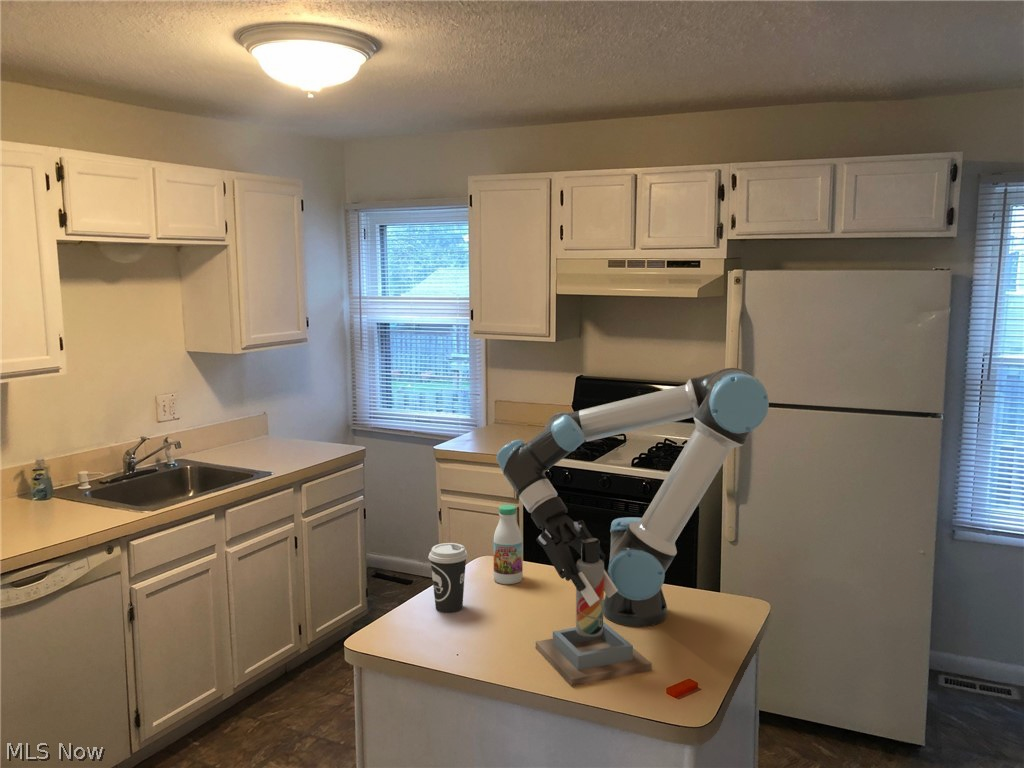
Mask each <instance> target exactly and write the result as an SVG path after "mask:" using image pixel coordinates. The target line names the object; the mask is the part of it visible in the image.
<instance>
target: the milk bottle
mask: <svg viewBox="0 0 1024 768" xmlns="http://www.w3.org/2000/svg"><path fill="white" fill-rule="evenodd" d="M498 516H499V521H498V523H497V526H496V528H495V531H494V534H493V535H494V536H493V580H494V581H495V582H496V583H498V584H501V585H514V584H519V583H521V582H522V580H523V578H524V577H523V573H524V571H523V570H524V567H523V563H524V561H523V560H524V558H523V553H524V552H523V534H522V531H521V529H520V526H519V524H518V521H517V517H516V516H517V506H516V505H513V504H505V505H504V504H502V505H500V506H499V507H498Z"/></svg>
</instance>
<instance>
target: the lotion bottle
mask: <svg viewBox="0 0 1024 768" xmlns="http://www.w3.org/2000/svg"><path fill="white" fill-rule="evenodd" d="M600 541H601V540H599V539H598V538H596V537H593V538H587V539H584V540H582V541H581V555H580V557H581V558H579V559H578V560H577V561H576V567H577V569H578V573H580V572H582V573H583V574H584V575H585V577H586V578H587V580H588V582H589V583H590V585H591V586H592V588H593V589H594V591H595V593H596V594H597V596H598V597H599V600H598V601H597V602H596V603H594V604H593V605H592V606H589V605H588V603H587V601H586V600H585V598H584V597H583V595H582V594H581V592H579V591H578V590H577V588H576V587H575V627H576V632H577V633H578V634H579V635H582V636H586V637H596V636H599V635H601V634H602V632H603V622H604V614H603V605H604V599H605V595H604V594H605V592H604V567H605V561H604V562H603V561H602V560H600V549H601V545H600V544H601V542H600Z"/></svg>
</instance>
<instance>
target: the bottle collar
mask: <svg viewBox="0 0 1024 768" xmlns="http://www.w3.org/2000/svg"><path fill="white" fill-rule="evenodd" d="M552 639H553V646H554V647H555V648H556V649H557V650H558V651H559V652H560V653H561V654H562V655H563V656H564V657H565V658H566V659H567V660H568V661H569V662H570V663H571V664H572V665H573V666H574V667H575V668H576V669H577V670H578V671H579V670H584V669H589V668H594V667H599V666H604V665H609V664H614V663H619V662H624V661H629V660H633V648H634V645H633V644H631V642H629V641H628V640H627V639H625V638H624V637H623V636H621V635H620V634H619V633H618V632H617V631H616V630H614V629H613V628H612V627H611V626H610V625H609V624H607V623H606V622H604V621H603V632H602V634H601V635H599V636H596V637H586V636H582V635H579V634H578V633H577V632H576V626H575V627H570V628H565V629H558V630H552ZM597 639H603V640H604V641H606V642H607V643H608V644H609V645H610V646H611V647H609V648H603V649H598V650H593V651H587V652H582V653H581V652H580V651H579V650H578V649H577V648H576V647H575V646H573V645H572V644H575V643H580V642H586V641H591V640H597Z"/></svg>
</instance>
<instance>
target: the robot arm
mask: <svg viewBox="0 0 1024 768" xmlns="http://www.w3.org/2000/svg"><path fill="white" fill-rule="evenodd" d="M767 392H768V391H767V390H766V389H765V386H764V385H763V383H762V382H761V381H760V380H759V379H758V378H757V377H755V376H753V375H752V374H751V373H749V372H747V371H746V370H743V369H741V368H738V367H726V368H722V369H719V370H716V371H713V372H710V373H708V374H704V375H701V376H698V377H693V378H689V379H688V380H687V382H686V383H685V384H683V385H679V386H675V387H670V388H668V389H664V390H663V389H662V390H660V391H655V392H650V393H647V394H642V395H637V396H634V397H630V398H625V399H622V400H618V401H617V400H616V401H613V402H609V403H604V404H601V405H596V406H592V407H588V408H584V409H580V410H577V411H572V412H568V413H567V412H559V413H556V414H554V415H552V416H551V417H550V418H549V419H548V421H547V422H546V424H545V427H544V428H543V430H541V431H540V432H539V433H538V434H537V435H535V436H534V437H533V438H531V440H529V441H528V442H524V441H523V440H521V439H515V440H511V441H510V442H509V443H507V444H505V445H504V446H503V447H501V448H500V449H499V450H498V452H497V454H496V458H495V459H496V462H497V463H498V465H499V467H500V469H501V471H502V474H503V476H504V477H505V478H506V479H507V481H508V482H509V484H510V486H511V488H513V490H514V492H515V493H516V495H517V496H518V498H519V499H520V501H521V503H522V504H523V506H524V507H525V509H526V511H527V512H528V513H530V518H531V519H532V521H533V523H534V524H535V526H536V527H537V529H539V530H542V532H541V534H540V535H539V536H538V537H537V538H536V542H537V544H539V545H540V546H541V547H542V549H543V550H544V552H545V554H546V555H547V557H548V559H549V560H550V562H551V564H552V565H553V567H554V569H555V571H556V573H557V574H558V576H559V577H560V579H565V581H567V582H569V581H571V582H572V583H573V585H574V587H575V589H576V588H577V590H578V591H579V592H581V594H582V595H583V597H584V598H585V600H586V601H587V603H588V605H589V606H592V605H593V604H594V603H596V602H597V601H598V600H599V597H598V596H597V594H596V593H595V591H594V589H593V588H592V586H591V585H590V583H589V582H588V580H587V578H586V577H585V575H584V574H583V573H582V572H580V573H578V569H577V567H576V565H577V563H576V562H575V560H574V557H573V554H572V551H571V548H570V547H572V548H573V549H574V550H575V551H576V552H577V553H578V554H579V555H580V556H581V541H582V540H584V539H587V538H594V537H593V535H592V534H591V532H589V530H588V528H587V526H586V524H585V521H584V520H583V519H579V520H578V521H574V520H573V519H572V518H570V516H568V510H569V509H568V508H567V506H566V505H565V503H564V502H563V500H562V498H561V497H560V496H558V492H557V490H556V489H555V488H554V486H553V484H552V483H551V481H550V480H549V479H548V477H547V476H546V474H545V473H546V472H547V471H549V470H550V469H551V468H552V467H553V466H555V465H556V464H557V463H559V462H560V461H562V460H563V459H564V458H565V457H567V456H568V455H570V453H572V452H575V451H576V450H577V448H578V447H580V446H581V445H582V444H583V443H586V442H592V441H595V440H600V439H605V438H608V437H612V436H613V437H614V436H618V435H621V434H622V435H623V434H626V433H630V432H635V431H640V430H643V429H647V428H651V427H656V426H660V425H665V424H671V423H673V422H678V421H683V420H686V419H691V418H693V421H694V424H695V428H694V430H693V431H692V433H691V434H690V437H689V439H688V440H687V442H686V443H685V445H684V447H683V449H682V450H681V452H680V453H679V455H678V457H677V459H676V460H675V462H674V463H673V465H672V467H671V469H670V470H669V472H668V473H667V475H666V477H665V478H664V480H663V482H662V484H661V486H660V487H659V489H658V491H657V492H656V494H655V495H654V497H653V498H652V501H651V502H650V504H649V505H648V508H647V509H646V511H645V512H644V514H643V516H642V517H632V516H631V517H629V516H627V517H618V518H615V519H613V520H612V522H610V523H611V525H610V530H609V532H610V552H609V563H608V566H607V569H606V568H605V566H604V594H605V595H604V605H603V617H605V618H606V619H608V620H609V621H611V622H613V623H616V624H619V625H623V626H631V627H648V626H655V625H658V624H660V623H662V622H664V621H665V620H666V618H667V617H668V605H667V602H666V601H667V600H666V599H665V595H664V592H663V589H662V587H663V585H664V582H665V576H666V574H665V573H666V571H668V568H669V567H670V565H671V564H672V562H673V560H674V558H675V556H676V555H677V553H678V551H677V547H676V541H677V539H678V537H680V535H681V533H682V531H683V529H684V527H685V526H686V525H687V523H688V521H689V520H690V518H691V517H692V515H693V513H694V511H695V510H696V508H697V507H698V505H699V503H700V502H701V500H702V498H703V497H704V495H705V494H706V492H707V490H708V489H709V487H710V485H711V484H712V482H713V480H714V479H715V478H716V475H717V474H718V472H719V471H720V469H721V467H722V466H723V464H724V462H725V460H726V459H727V457H728V456H729V454H730V452H731V451H732V449H734V448H739V447H743V446H744V444H745V442H746V440H747V439H748V437H749V436H750V434H751V433H752V432H753V431H754V430H755V429H757V428H758V427H759V426H760V425H761V424H763V422H764V421H765V419H766V417H767V416H768V412H769V406H770V405H769V404H770V402H769V397H768V393H767ZM606 558H607V557H606V554H605V553H604V551H603V550H602V549H601V548H600V560H602V561H603V562H604V563H605V559H606Z"/></svg>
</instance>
